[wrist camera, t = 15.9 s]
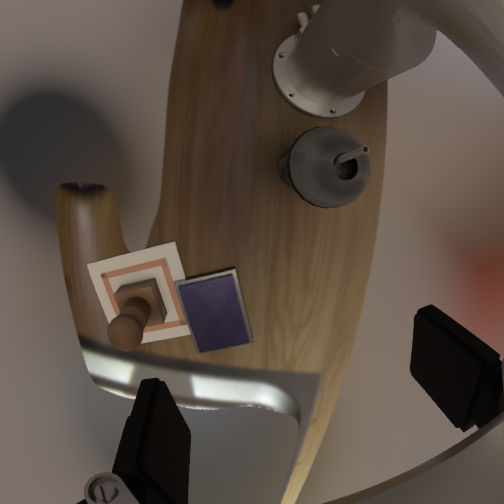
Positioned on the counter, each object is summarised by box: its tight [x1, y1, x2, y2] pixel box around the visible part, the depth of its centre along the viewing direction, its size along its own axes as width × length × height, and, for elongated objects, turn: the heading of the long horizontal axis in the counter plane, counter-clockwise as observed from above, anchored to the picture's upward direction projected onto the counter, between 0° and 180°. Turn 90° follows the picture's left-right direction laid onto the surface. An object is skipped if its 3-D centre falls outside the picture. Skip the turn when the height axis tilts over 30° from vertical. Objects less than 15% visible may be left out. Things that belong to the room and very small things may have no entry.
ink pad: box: [174, 267, 253, 354], centre depth 38 cm, size 11×8×2 cm
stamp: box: [108, 278, 167, 351], centre depth 32 cm, size 5×5×11 cm
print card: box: [87, 241, 191, 343], centre depth 37 cm, size 13×13×1 cm
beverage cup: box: [278, 126, 370, 208], centre depth 26 cm, size 7×7×20 cm
